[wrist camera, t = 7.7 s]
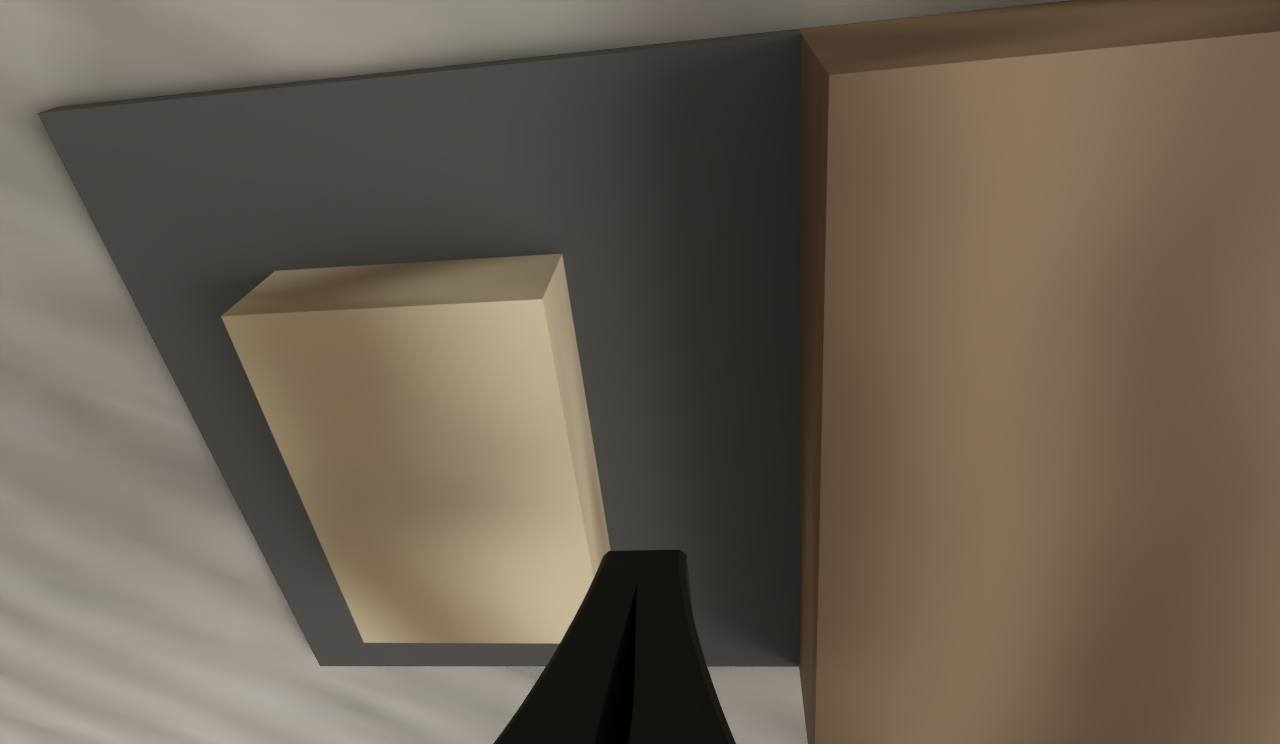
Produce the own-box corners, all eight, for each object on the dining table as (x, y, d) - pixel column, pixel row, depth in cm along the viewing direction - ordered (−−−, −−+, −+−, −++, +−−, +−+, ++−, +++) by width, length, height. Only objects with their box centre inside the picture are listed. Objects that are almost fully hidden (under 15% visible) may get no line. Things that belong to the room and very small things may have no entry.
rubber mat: (798, 29, 13) (800, 33, 12) (797, 650, 21) (799, 666, 21) (57, 107, 14) (37, 113, 14) (327, 651, 23) (320, 665, 22)
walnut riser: (1620, -58, 11) (2018, -41, 8) (1269, 650, 19) (1385, 807, 16) (798, 29, 13) (828, 74, 9) (797, 650, 21) (813, 794, 18)
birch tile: (221, 316, 14) (275, 270, 15) (363, 642, 18) (393, 580, 20) (542, 298, 13) (562, 253, 15) (605, 643, 18) (615, 579, 19)
